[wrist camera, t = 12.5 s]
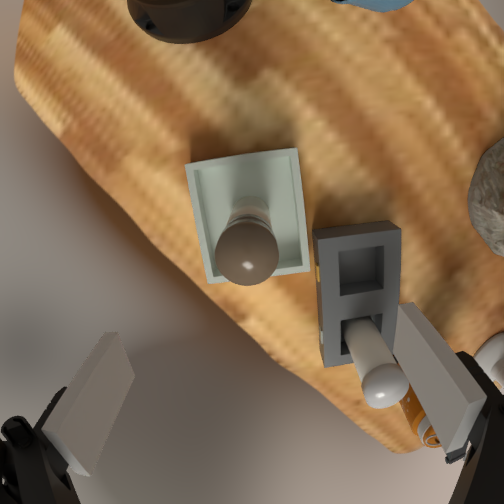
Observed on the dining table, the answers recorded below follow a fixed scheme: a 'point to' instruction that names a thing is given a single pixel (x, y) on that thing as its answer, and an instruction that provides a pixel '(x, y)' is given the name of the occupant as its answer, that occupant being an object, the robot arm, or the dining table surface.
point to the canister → (425, 424)
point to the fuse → (374, 363)
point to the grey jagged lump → (489, 198)
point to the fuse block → (356, 282)
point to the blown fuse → (247, 244)
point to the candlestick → (492, 358)
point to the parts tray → (251, 184)
